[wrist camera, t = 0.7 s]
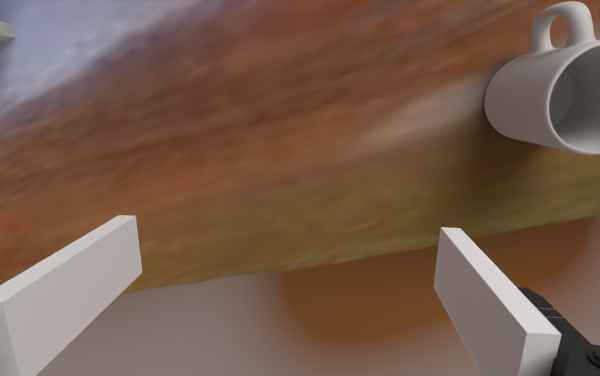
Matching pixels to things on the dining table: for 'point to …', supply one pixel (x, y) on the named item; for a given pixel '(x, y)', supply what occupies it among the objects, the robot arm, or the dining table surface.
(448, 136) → the dining table surface
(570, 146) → the mug
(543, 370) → the robot arm
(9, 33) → the beige hollow box
